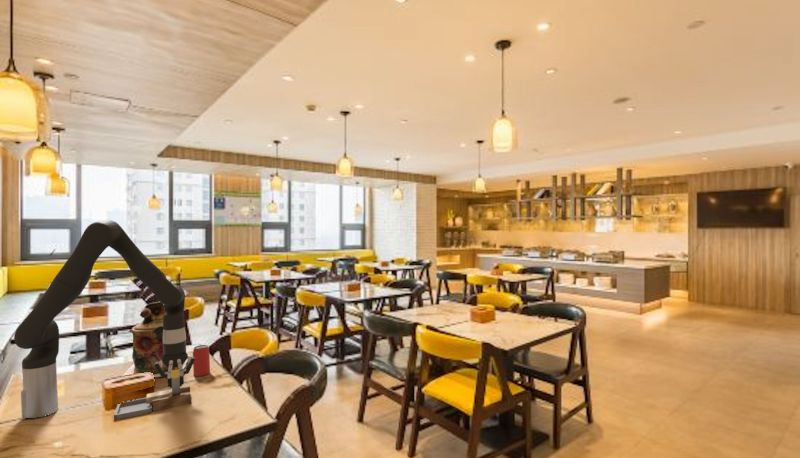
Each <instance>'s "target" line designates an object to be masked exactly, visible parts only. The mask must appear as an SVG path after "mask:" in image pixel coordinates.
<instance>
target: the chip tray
mask: <svg viewBox="0 0 800 458" xmlns="http://www.w3.org/2000/svg"><path fill="white" fill-rule="evenodd" d="M131 400H132V401H130V400H126V401H127V402H124V401H122V402H123V406H122V407H121V403H120V404H118V403H117V405H116V408H115V410H114V414H113V420H114V421H117V420H121V419H126V418H131V417H137V416H141V415H142V416H143V415H146V414H147V415H148V414H152V412H153V403H149V404H147V400H146V397H142V398H136V400H135V399H131ZM124 405H127V406H124Z"/></svg>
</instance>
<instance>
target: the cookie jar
mask: <svg viewBox="0 0 800 458" xmlns="http://www.w3.org/2000/svg"><path fill="white" fill-rule="evenodd" d="M164 313H165V305H164V304H163V303H162V302H160V301H156V302H150V303H148V304H146V305H145V306H144V308H143V309H142V310H141V312H140V313H139V316H140V317H141V318H143V321H141V322H140V323H138V324H136V325H135V326H133V327H132V328H131V330H130V332H131V334H132V344H133V345H132V354H131V356H132V357H131V358H132V362H133V363H132V365H130V367H129V368H128V369H127V370H126V371H125V372H124V374H122V377H123V376H124V375H129V374H133V373H144V372H151V373H153V375H154V376H155V378H162V376H161V375H160V373H159V372H158V370H157V369H156V367H155V363H156V362H159V361H161V360H162V358H163V316H164ZM188 356H190V357H191V355H188ZM187 363H188V359H187V360H186V361H185V362H184V364H183V365H182V366H183V370H185V369H186V368H185V367H187V365H188V364H187ZM162 369H163V370H164V372H165V373H168V367H167V366H166V365H165V364H164V363H162Z"/></svg>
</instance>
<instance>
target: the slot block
mask: <svg viewBox="0 0 800 458" xmlns="http://www.w3.org/2000/svg"><path fill="white" fill-rule="evenodd" d="M171 389H172V388H169V389H164V390H163V389H162V391H166V390H171ZM160 391H161V390H159V391H154V392H153V393H155V392H160ZM191 400H192V398H191V385H186V386H181V387H180V395H177V396H171V397H166V398H160V399H155V400H153V407H152V412H155V411H159V410H164V409H169V408H176V407H179V406H180V407H181V406H185V405H191V404H192V401H191Z"/></svg>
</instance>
